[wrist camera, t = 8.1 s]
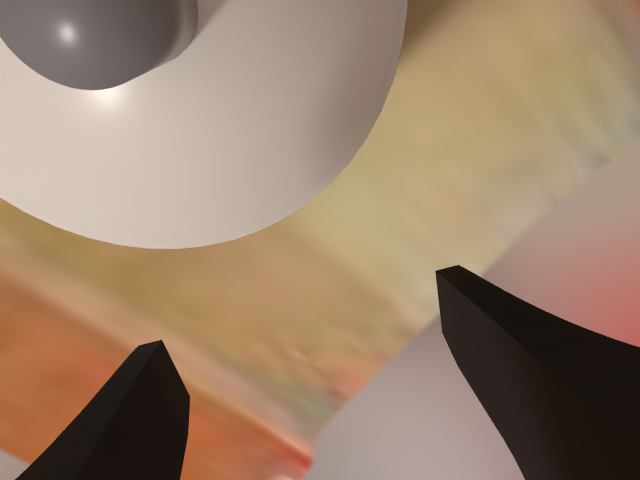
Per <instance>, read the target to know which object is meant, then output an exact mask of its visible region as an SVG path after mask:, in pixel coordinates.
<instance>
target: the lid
mask: <svg viewBox="0 0 640 480" xmlns="http://www.w3.org/2000/svg"><path fill="white" fill-rule="evenodd" d="M407 3H408V0H0V198H2V199H4V200H5V201H7V202H9V203H10V204H12V205H14V206H15V207H17V208H19V209H21V210H22V211H24V212H26V213H28V214H30V215H32V216H34V217H36V218H39V219H41V220H43V221H45V222H47V223H49V224H52V225H54V226H56V227H58V228H61V229H64V230H67V231H70V232H73V233H76V234H79V235H82V236H85V237H87V238H92V239H96V240H100V241H104V242H109V243H113V244H117V245H125V246H133V247H141V248H154V249H181V248H191V247H200V246H208V245H213V244H217V243H222V242H226V241H231V240H235V239H237V238H240V237H243V236H246V235H249V234H252V233H255V232H257V231H260V230H262V229H264V228H266V227H268V226H270V225H272V224H274V223H276V222H278V221H280V220H282V219H284V218H286V217H287V216H289V215H290V214H292V213H293V212H295V211H297V210H298V209H300V208H301V207H303V206H304V205H306V204H307V203H308V202H310V201H311V200H312V199H313V198H314V197H315V196H317V195H318V194H319V193H320V192H321V191H322V190H324V189H325V188H326V187H327V186H328V185H329V184H330V183H331V182H332V181H333V180H334V179H335V178H336V177H337V176H338V175H339V173H340V172H341V171H342V170H343V169H344V168H345V167H346V166H347V165H348V164H349V162H350V161H351V160H352V158H353V157H354V155H355V154H356V152H357V151H358V150H359V148H360V147H361V145H362V144H363V143H364V141H365V140H366V138H367V136H368V134H369V133H370V131H371V129H372V127H373V125H374V123H375V121H376V120H377V118H378V116H379V114H380V112H381V110H382V108H383V105H384V102H385V100H386V97H387V95H388V92H389V90H390V87H391V85H392V82H393V79H394V75H395V72H396V68H397V64H398V60H399V56H400V53H401V49H402V44H403V37H404V30H405V23H406V16H407Z"/></svg>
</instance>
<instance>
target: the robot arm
mask: <svg viewBox="0 0 640 480" xmlns="http://www.w3.org/2000/svg"><path fill="white" fill-rule="evenodd" d="M436 280H437V289H438V298H439V307H440V316H441V324H442V333H443V335H444V337H445V339H446V342H447V344H448V346H449V348H450V350H451V353H452V354H453V357H454V359H455V361H456V363H457V365H458V367H459V369H460V370H461V372H462V374H463V375H464V377H465V378H466V380H467V381H468V383H469V385H470V386H471V388H472V389H473V391H474V393H475V394H476V396H477V398H478V399H479V401H480V402H481V404H482V406H483V407H484V409H485V410H486V412H487V414H488V415H489V417H490V418H491V420H492V421H493V423H494V425H495V426H496V428H497V429H498V431H499V433H500V434H501V436H502V437H503V439H504V441H505V442H506V444H507V446H508V448H509V449H510V451H511V453H512V455H513V456H514V458H515V460H516V462H517V464H518V466H519V468H520V470H521V472H522V474H523V476H524V478H525V480H640V347H637V346H634V345H630V344H627V343H624V342H621V341H618V340H615V339H612V338H609V337H607V336H604V335H602V334H599V333H596V332H594V331H591V330H588V329H585V328H583V327H580V326H578V325H575V324H573V323H571V322H568V321H566V320H564V319H561V318H559V317H557V316H555V315H553V314H550V313H548V312H546V311H544V310H542V309H539V308H537V307H535V306H533V305H531V304H529V303H527V302H525V301H523V300H521V299H519V298H517V297H515V296H514V295H512V294H510V293H508V292H506V291H504V290H502V289H501V288H499V287H497V286H495V285H493V284H492V283H490V282H488V281H486V280H484V279H483V278H481V277H479V276H478V275H476V274H474V273H472V272H470V271H469V270H467V269H465V268H463V267H461V266H460V265H457V266H453V267H449V268H445V269H441V270H437V271H436ZM189 407H190V396H189V394H188V392H187V390H186V388H185V386H184V384H183V382H182V380H181V377H180V375H179V373H178V371H177V369H176V367H175V365H174V363H173V361H172V359H171V357H170V355H169V353H168V351H167V349H166V347H165V345H164V343H163V341H162V340H159V341H155V342H151V343H147V344H143V345H139V346H138V347H137V348H136V349H135V350H134V351H133V352H132V353H131V354H130V355H129V357H128V358H127V359H126V360H125V361H124V362H123V363H122V365H121V366H120V367H119V368H118V369H117V370H116V372H115V373H114V374H113V375H112V376H111V378H110V379H109V380H108V381H107V382H106V384H105V385H104V386H103V387H102V388H101V389H100V391H99V392H98V393H97V394H96V395H95V396H94V398H93V399H92V400H91V401H90V402H89V403H88V404H87V406H86V407H85V408H84V409H83V410H82V411H81V412H80V414H79V415H78V416H77V417H76V418H75V419H74V420H73V421H72V422H71V423H70V424H69V425H68V427H67V428H66V429H65V430H64V431H63V432H62V433H61V434H60V435H59V436H58V437H57V439H56V440H55V441H54V442H53V443H52V444H51V445H50V446H49V447H48V448H47V449H46V450H45V451H44V452H43V453H42V454H41V455H40V456H39V457H38V458H37V459H36V460H35V461H34V462H33V463H32V464H31V465H30V466H29V467H28V468H27V469H26V470H25V471H24V472H23V473H22V474H21V475H20V476H19V477H18V478H17V479H15V480H180V476H181V471H182V465H183V460H184V454H185V449H186V443H187V437H188V427H189Z"/></svg>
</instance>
